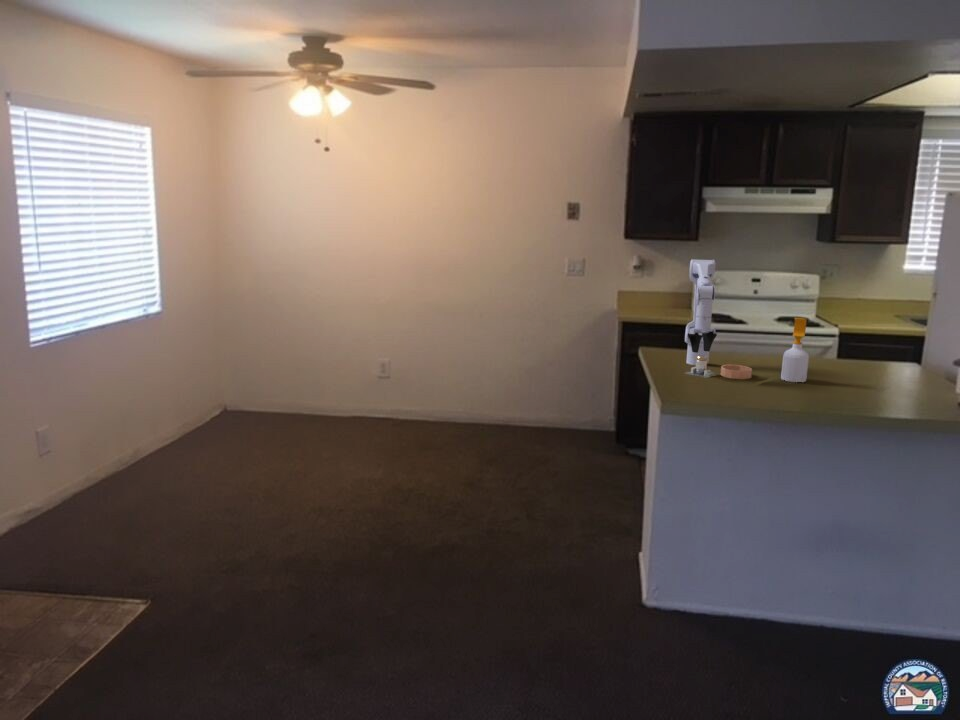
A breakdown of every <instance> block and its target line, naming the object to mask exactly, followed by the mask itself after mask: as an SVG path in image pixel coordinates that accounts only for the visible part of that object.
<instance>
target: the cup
mask: <svg viewBox="0 0 960 720" xmlns="http://www.w3.org/2000/svg"><path fill="white" fill-rule="evenodd" d="M720 366H721V367H720V376H722V377H724V378H729V379H733V380H736V379H737V380H747V379H748V380H749V379H752V374H753V373H752V372H753V368H751V367H749V366H745V365H740V364H723V365H720Z"/></svg>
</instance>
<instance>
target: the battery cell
mask: <svg viewBox="0 0 960 720" xmlns="http://www.w3.org/2000/svg"><path fill="white" fill-rule="evenodd" d="M707 365H708V363H707V356H702V355H698V356H697V357H696V365H695V367H696V369H695V374H697V375H704V371H705V370H707Z"/></svg>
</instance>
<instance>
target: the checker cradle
mask: <svg viewBox="0 0 960 720" xmlns="http://www.w3.org/2000/svg"><path fill="white" fill-rule="evenodd" d="M695 369H696V366H694V367H693V366H692V367H691V368H690V371H686V372H684V374H687V375H689V376H695V377H701V378H705V379H707V378H711V377H715V376H717V374H716V373H715V371H711V369H706V370H705V371H704V375H697V374H695Z"/></svg>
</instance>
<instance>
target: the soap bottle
mask: <svg viewBox="0 0 960 720" xmlns="http://www.w3.org/2000/svg"><path fill="white" fill-rule="evenodd" d="M793 320H794V324H793V325H794V326H793V333H792V337H793V338H794V339H795V341H792V347H791V348H789V349H787V350H784V353H783V356H782V365H781V373H780V374H781V375H780V379H781V380H782V381H784V380H785V381H784V382H788V383H795V382H796V383H797V382H802V383H805V382H806V381H807V377H808V368H809V360H810V356H809V353H808V352H807V351H806V350H804V349H803V342H802V341H801V340H802V339H803V338H805V335H806V328H807V318H803V317H794V319H793Z"/></svg>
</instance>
